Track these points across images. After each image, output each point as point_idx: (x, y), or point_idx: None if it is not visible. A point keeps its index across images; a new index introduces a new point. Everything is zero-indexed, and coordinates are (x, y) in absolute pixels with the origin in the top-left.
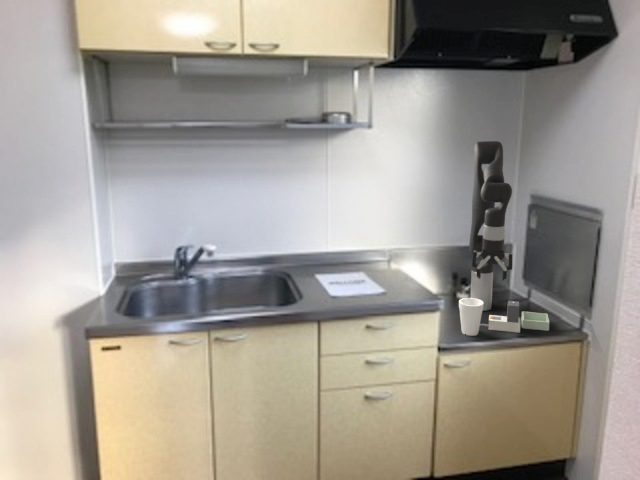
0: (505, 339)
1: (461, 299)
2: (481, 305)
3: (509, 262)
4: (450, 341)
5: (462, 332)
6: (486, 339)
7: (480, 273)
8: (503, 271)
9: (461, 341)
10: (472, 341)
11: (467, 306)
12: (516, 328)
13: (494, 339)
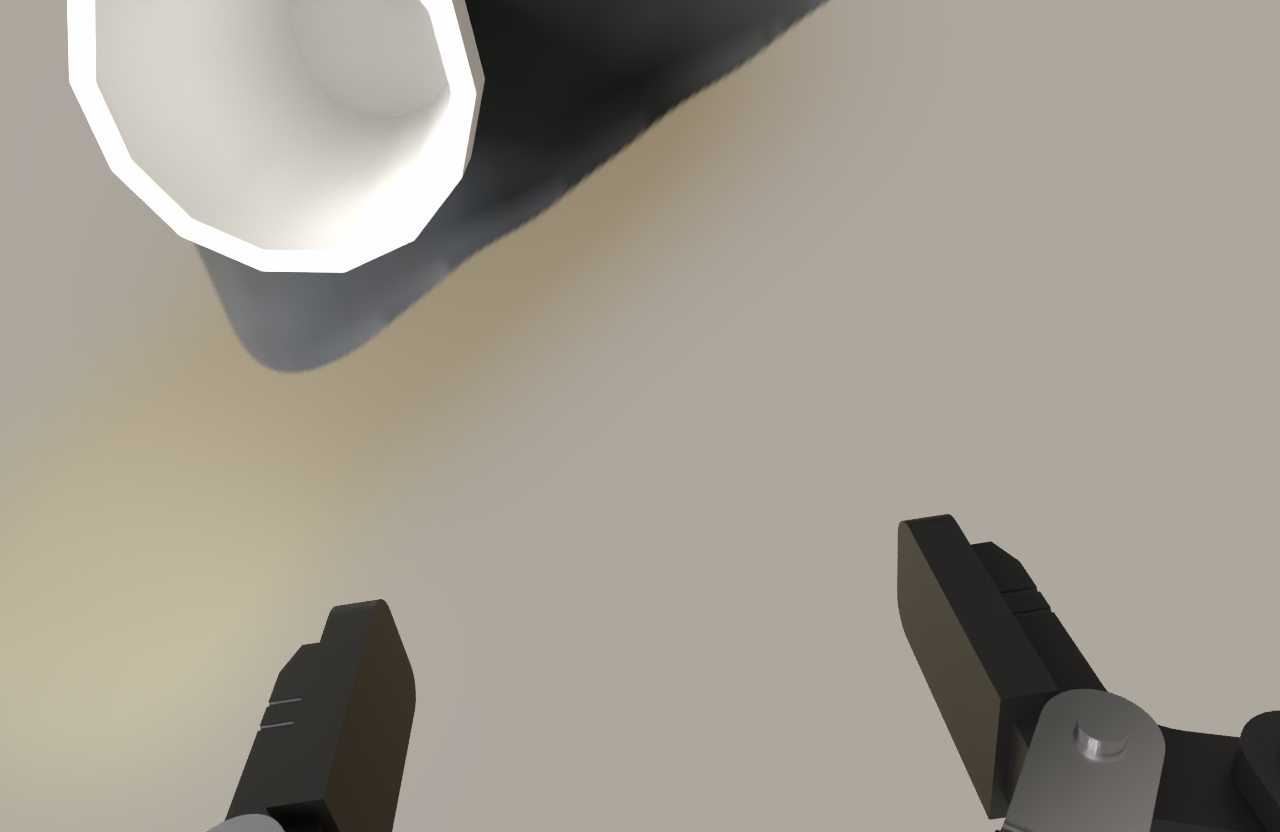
0: (753, 57)
1: (82, 30)
2: (465, 158)
3: None
4: (299, 325)
5: (315, 83)
6: (581, 140)
7: (395, 805)
8: (1000, 811)
9: (385, 285)
10: (474, 243)
11: (296, 268)
12: None
13: (652, 106)
